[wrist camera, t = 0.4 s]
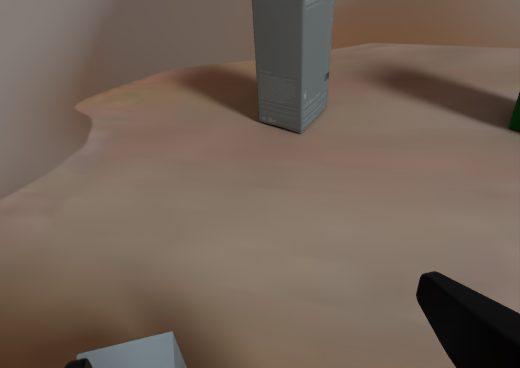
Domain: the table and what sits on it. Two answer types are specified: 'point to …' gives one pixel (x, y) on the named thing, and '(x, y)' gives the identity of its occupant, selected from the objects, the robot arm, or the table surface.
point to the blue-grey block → (139, 354)
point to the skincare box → (292, 60)
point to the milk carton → (516, 116)
